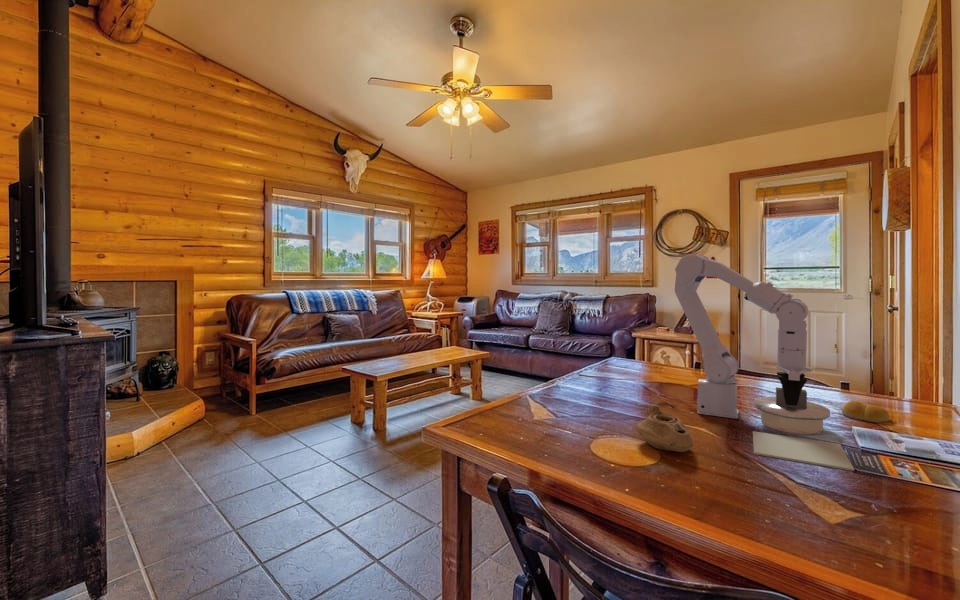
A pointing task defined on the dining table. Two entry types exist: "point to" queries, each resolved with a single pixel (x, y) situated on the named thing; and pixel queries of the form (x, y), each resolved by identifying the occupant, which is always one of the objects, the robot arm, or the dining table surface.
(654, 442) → the oil lamp
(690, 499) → the dining table surface
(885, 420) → the bread roll
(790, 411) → the lid
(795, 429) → the bowl
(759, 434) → the mat
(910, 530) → the dining table surface
